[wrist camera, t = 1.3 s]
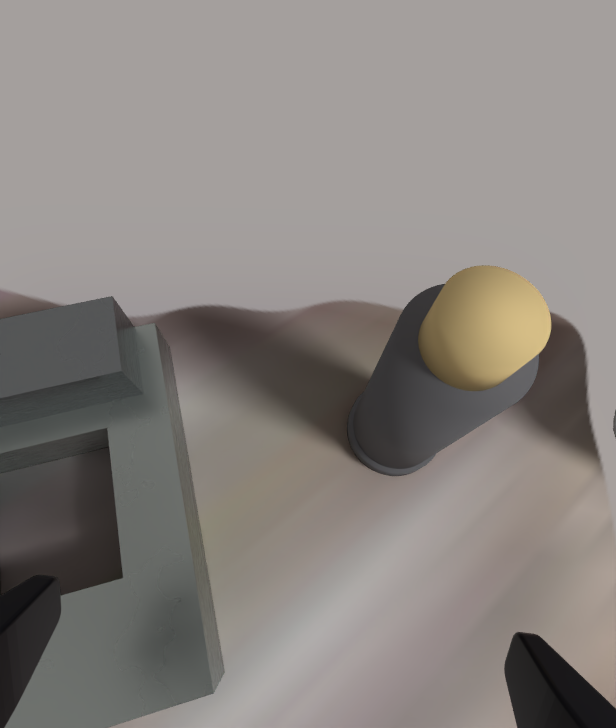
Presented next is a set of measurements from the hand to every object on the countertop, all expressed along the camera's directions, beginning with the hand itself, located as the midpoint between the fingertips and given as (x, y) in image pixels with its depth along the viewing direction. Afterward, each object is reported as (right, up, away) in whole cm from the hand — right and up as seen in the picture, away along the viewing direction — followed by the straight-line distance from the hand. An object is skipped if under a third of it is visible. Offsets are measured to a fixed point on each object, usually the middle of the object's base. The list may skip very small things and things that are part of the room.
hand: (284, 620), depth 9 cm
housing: (-11, -3, +13) cm, 17 cm away
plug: (+5, +2, +15) cm, 16 cm away
